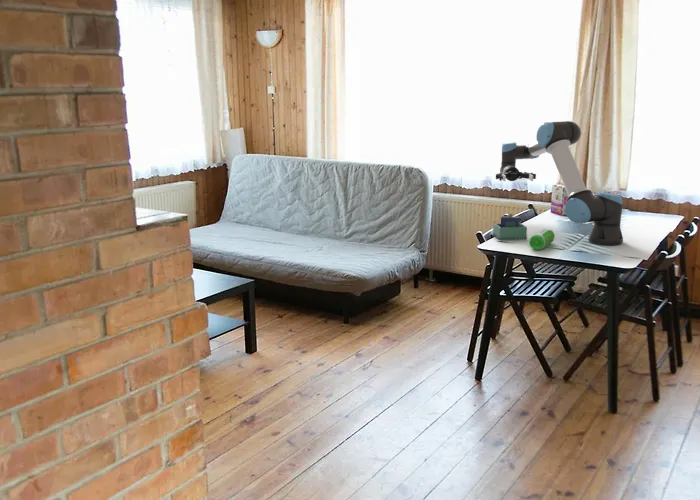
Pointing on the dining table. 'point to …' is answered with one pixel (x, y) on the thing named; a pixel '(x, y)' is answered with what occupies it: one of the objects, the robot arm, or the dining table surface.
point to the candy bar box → (559, 199)
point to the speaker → (541, 239)
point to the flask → (510, 221)
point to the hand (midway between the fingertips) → (518, 178)
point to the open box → (509, 232)
